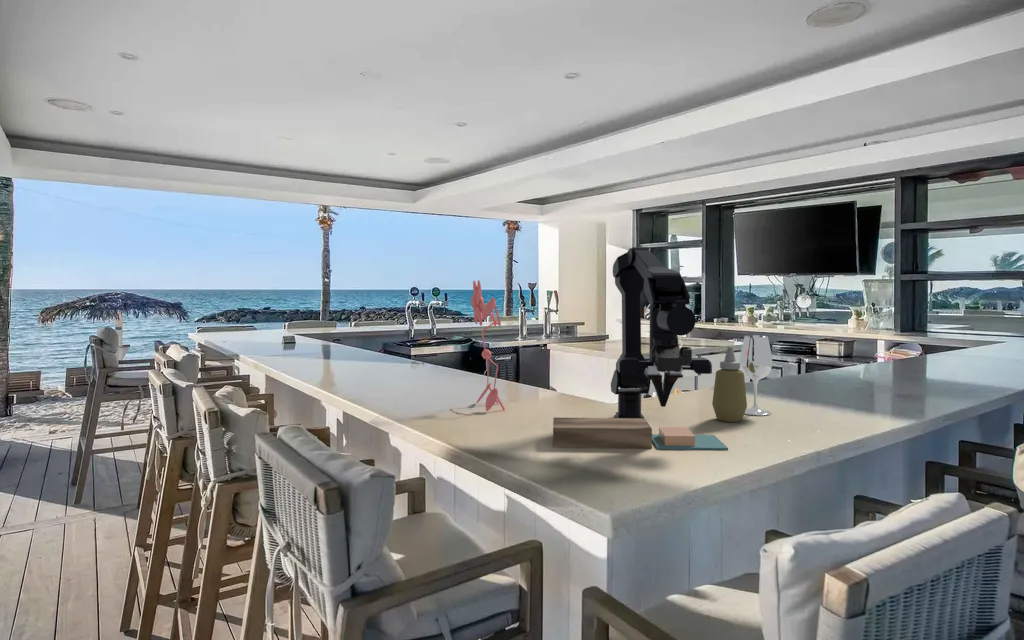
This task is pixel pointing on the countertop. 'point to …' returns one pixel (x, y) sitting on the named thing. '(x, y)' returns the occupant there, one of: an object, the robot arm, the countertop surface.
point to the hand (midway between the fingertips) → (663, 406)
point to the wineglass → (756, 365)
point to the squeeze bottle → (729, 390)
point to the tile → (676, 436)
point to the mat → (700, 443)
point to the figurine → (479, 313)
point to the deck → (602, 432)
